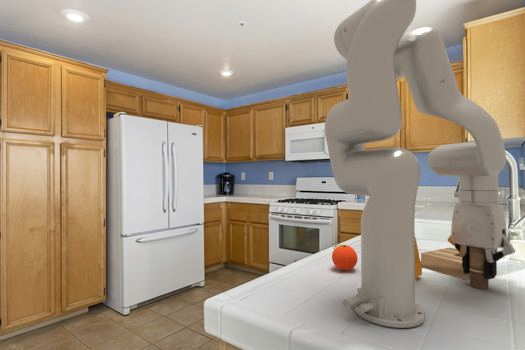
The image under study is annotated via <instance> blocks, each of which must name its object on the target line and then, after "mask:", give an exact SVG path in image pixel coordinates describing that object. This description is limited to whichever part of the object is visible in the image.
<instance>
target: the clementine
mask: <svg viewBox="0 0 525 350" xmlns="http://www.w3.org/2000/svg"><path fill="white" fill-rule="evenodd" d="M331 259H332V263H333V265H334V266H335V267H336V268H337V269H338V270H341V271H351V270H352V269H354V268H355V267H356V265H357V263H358V260H359V259H358V254H357V252H356V250H355V248H353V247H352V246H350V245H347V244H337V245H335V246H334V247H333V250H332V253H331Z"/></svg>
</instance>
